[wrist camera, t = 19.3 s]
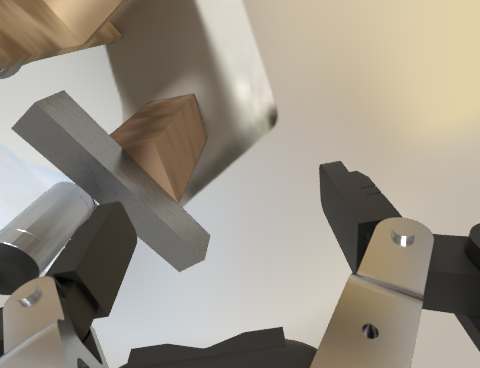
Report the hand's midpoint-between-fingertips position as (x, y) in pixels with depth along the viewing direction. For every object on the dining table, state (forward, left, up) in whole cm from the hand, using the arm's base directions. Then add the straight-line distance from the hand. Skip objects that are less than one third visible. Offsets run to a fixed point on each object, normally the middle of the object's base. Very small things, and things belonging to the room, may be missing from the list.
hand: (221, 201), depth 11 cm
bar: (-14, -7, -17) cm, 23 cm away
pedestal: (-14, -7, -37) cm, 40 cm away
